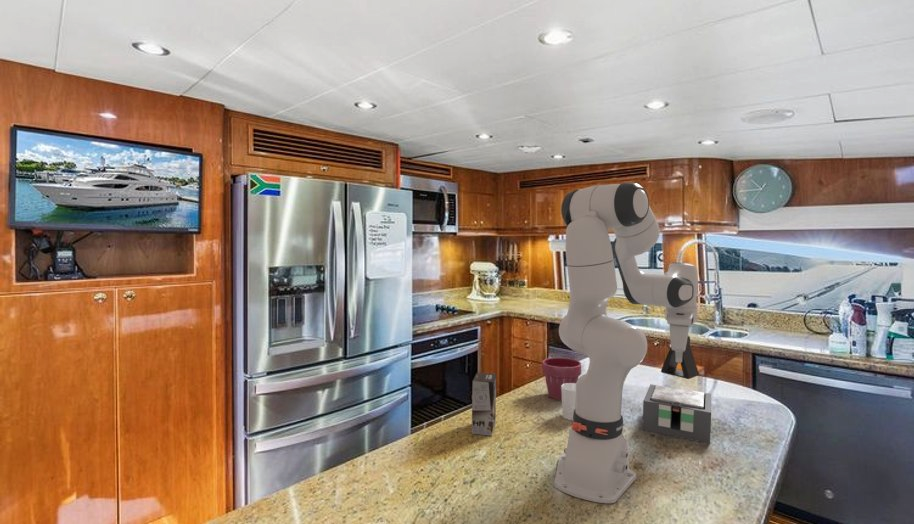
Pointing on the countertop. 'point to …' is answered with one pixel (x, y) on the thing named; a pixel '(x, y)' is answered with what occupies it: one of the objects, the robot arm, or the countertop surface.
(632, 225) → the robot arm
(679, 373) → the phone stand
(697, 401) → the pan
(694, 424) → the scale housing
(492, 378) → the coffee box
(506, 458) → the countertop surface
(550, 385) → the plant pot
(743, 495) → the countertop surface
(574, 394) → the white cup
